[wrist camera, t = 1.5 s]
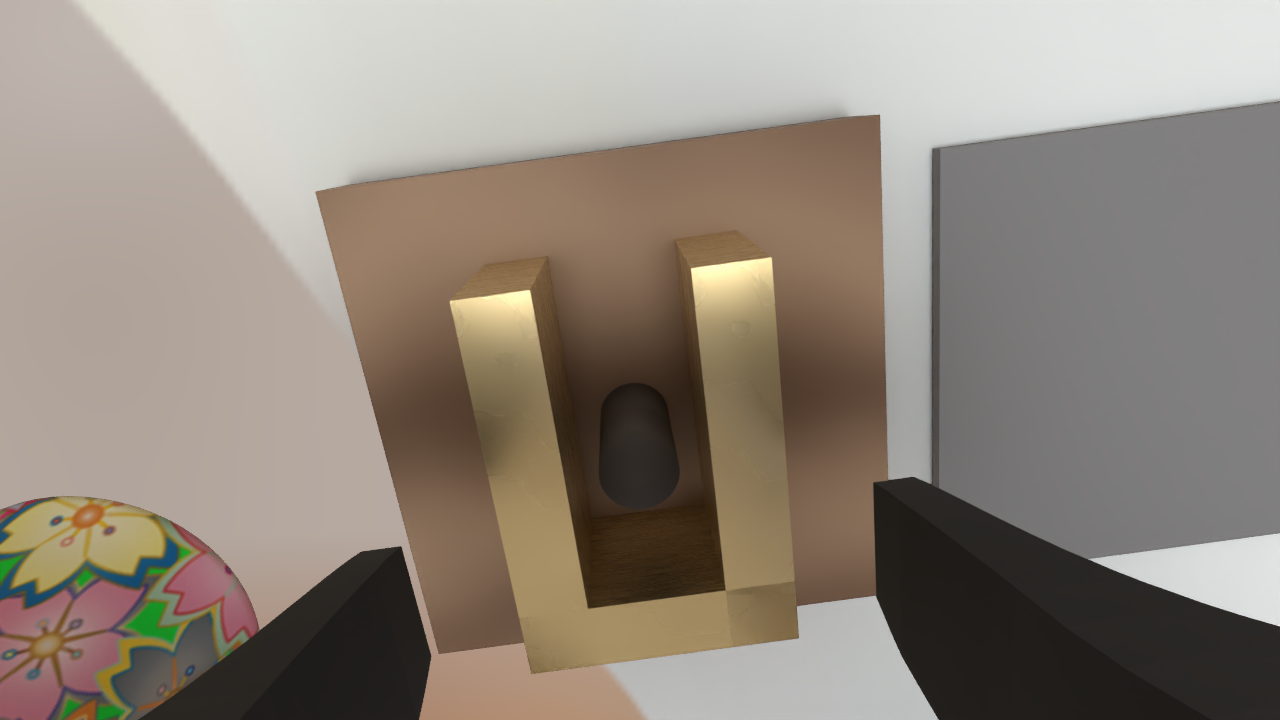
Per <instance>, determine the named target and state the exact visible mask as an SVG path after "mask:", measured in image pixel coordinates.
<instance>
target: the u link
mask: <svg viewBox="0 0 1280 720" xmlns="http://www.w3.org/2000/svg"><path fill="white" fill-rule="evenodd" d="M674 244H675V253H676V261H677V270H678V279H679V288H680V296H681V305H682V314H683V323H684V331H685V340H686V349H687V358H688V367H689V375H690V384H691V393H692V402H693V410H694V419H695V428H696V437H697V445H698V454H699V463H700V472H701V480H702V489H703V498H704V503H702V504H695V505H687V506H680V507H673V508H665V509H658V510H650V511H643V512H635V513H628V514H621V515H613V516H606V517H598V518H592V513H591V507H590V501H589V495H588V490H587V484H586V478H585V472H584V466H583V460H582V455H581V449H580V443H579V437H578V431H577V425H576V420H575V414H574V408H573V402H572V396H571V390H570V385H569V379H568V373H567V367H566V361H565V355H564V349H563V344H562V338H561V332H560V326H559V320H558V314H557V309H556V303H555V297H554V291H553V285H552V279H551V274H550V268H549V262H548V256H544V257H537V258H529V259H522V260H515V261H507V262H500V263H492V264H485V265H483V267H482V268H481V269H480V270H479V271H478V272H477V273H476V274H475V275H474V276H473V277H472V278H471V279H470V280H469V281H468V282H467V283H466V284H465V285H464V286H463V287H462V289H461V290H460V291H459V292H458V293H457V294H456V295H455V296H454V297H453V298H452V299H451V300H450V306H451V310H452V315H453V319H454V324H455V328H456V333H457V338H458V342H459V347H460V351H461V356H462V360H463V365H464V369H465V374H466V379H467V383H468V388H469V392H470V397H471V401H472V406H473V410H474V415H475V420H476V424H477V429H478V433H479V438H480V442H481V447H482V451H483V456H484V461H485V465H486V470H487V474H488V479H489V483H490V488H491V492H492V497H493V502H494V506H495V511H496V515H497V520H498V524H499V529H500V534H501V538H502V543H503V547H504V552H505V556H506V561H507V565H508V570H509V575H510V579H511V584H512V588H513V593H514V597H515V602H516V606H517V611H518V616H519V620H520V625H521V629H522V634H523V638H524V643H525V647H526V652H527V657H528V661H529V665H530V670H531V674H535V673H542V672H550V671H558V670H565V669H573V668H580V667H588V666H595V665H603V664H610V663H617V662H625V661H632V660H640V659H647V658H655V657H662V656H670V655H677V654H685V653H692V652H700V651H707V650H715V649H722V648H730V647H737V646H745V645H752V644H760V643H767V642H774V641H782V640H789V639H797V638H799V633H798V619H797V605H796V591H795V577H794V563H793V549H792V535H791V521H790V507H789V493H788V479H787V465H786V451H785V437H784V423H783V409H782V395H781V381H780V367H779V353H778V339H777V325H776V311H775V297H774V283H773V269H772V257H771V256H769V255H768V254H767V253H765V252H764V251H763V250H762V249H760V248H759V247H758V246H757V245H755V244H754V243H753V242H751V241H750V240H749V239H748V238H746V237H745V236H744V235H743V234H741V233H740V232H739V231H738V230H735V231H728V232H721V233H713V234H706V235H699V236H691V237H684V238H676V239H674Z"/></svg>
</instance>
